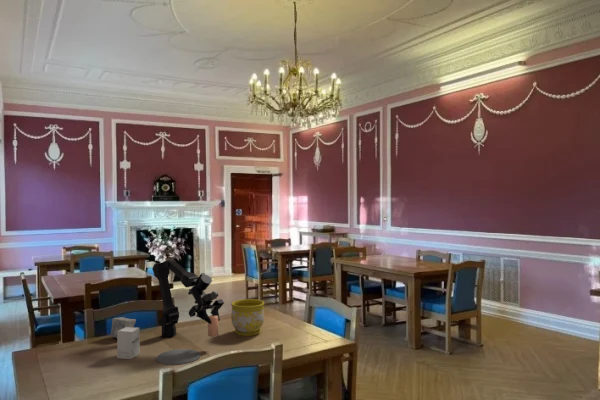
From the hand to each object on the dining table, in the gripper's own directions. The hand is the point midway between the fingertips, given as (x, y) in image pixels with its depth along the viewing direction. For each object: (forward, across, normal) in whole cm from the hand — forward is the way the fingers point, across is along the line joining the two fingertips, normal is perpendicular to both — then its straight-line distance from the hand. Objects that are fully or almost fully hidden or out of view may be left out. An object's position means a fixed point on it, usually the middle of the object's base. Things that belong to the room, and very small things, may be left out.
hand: (214, 321), depth 222 cm
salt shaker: (+4, 0, +6) cm, 7 cm away
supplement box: (-8, -30, +28) cm, 42 cm away
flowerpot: (+5, +30, +14) cm, 33 cm away
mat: (+6, -17, +14) cm, 22 cm away
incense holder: (-28, -16, +47) cm, 57 cm away
